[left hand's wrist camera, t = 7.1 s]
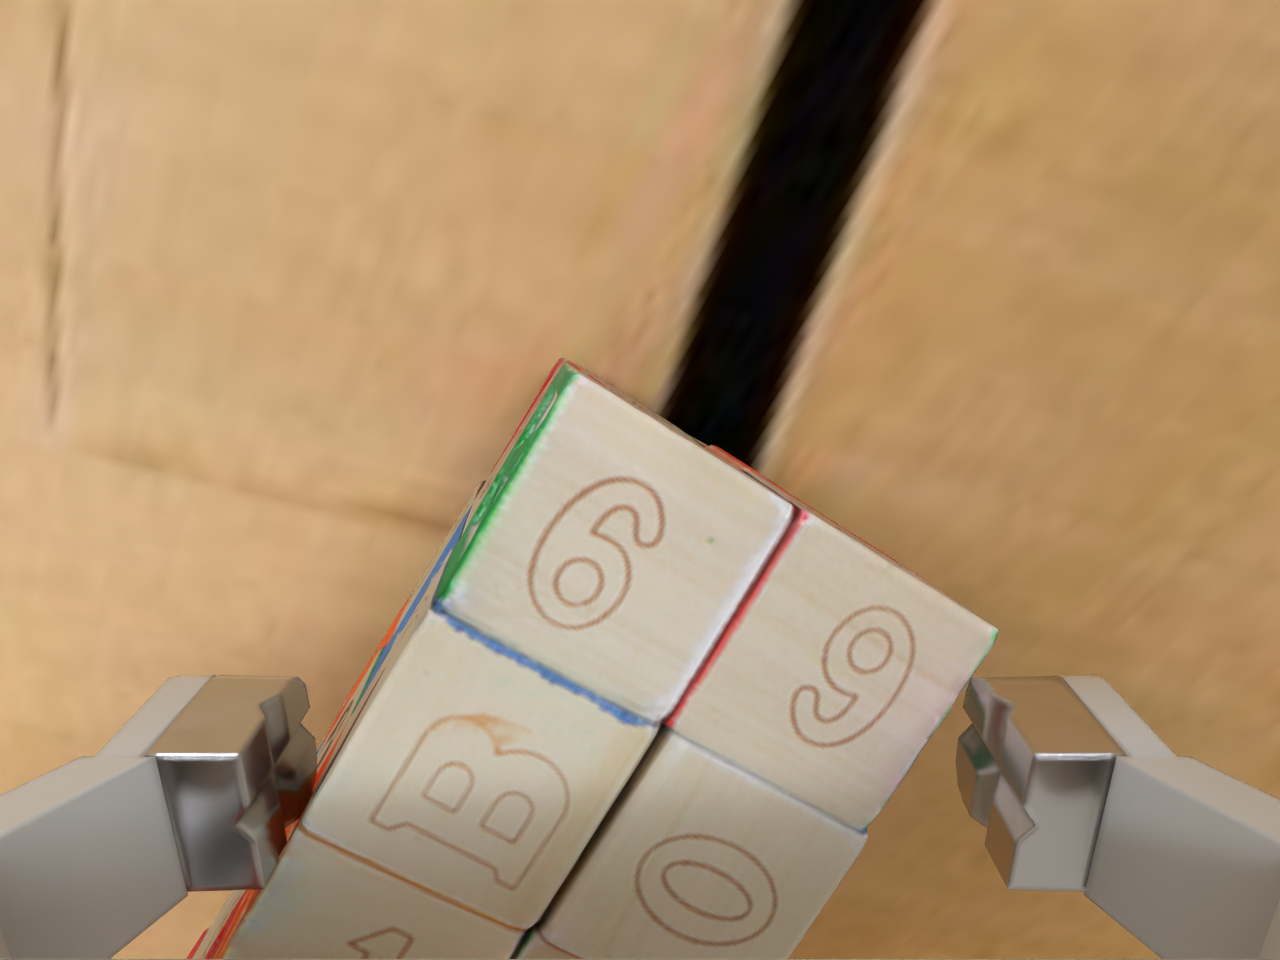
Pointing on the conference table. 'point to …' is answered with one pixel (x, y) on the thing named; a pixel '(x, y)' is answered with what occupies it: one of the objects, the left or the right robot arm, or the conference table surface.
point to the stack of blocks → (613, 716)
